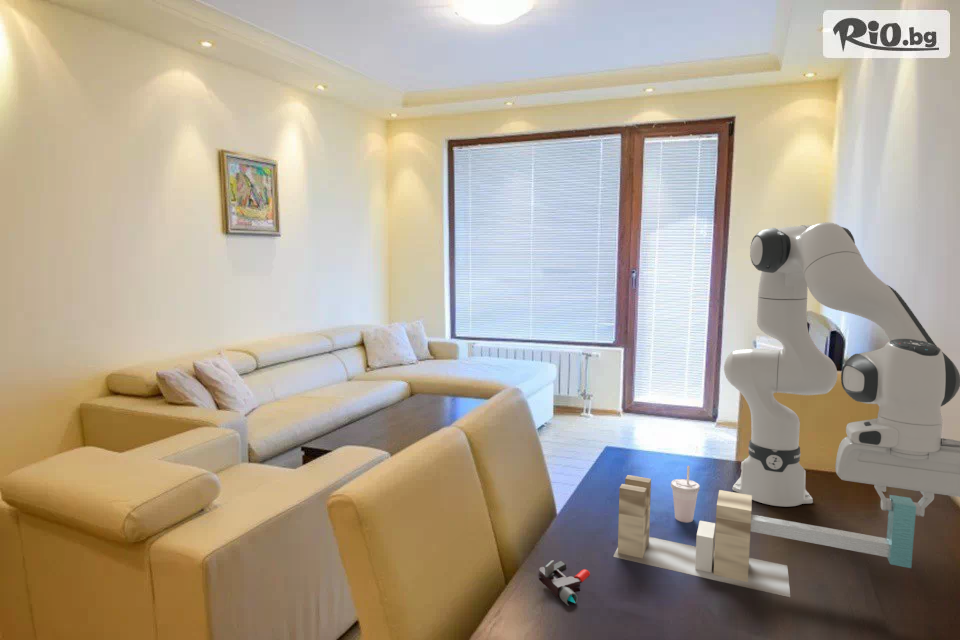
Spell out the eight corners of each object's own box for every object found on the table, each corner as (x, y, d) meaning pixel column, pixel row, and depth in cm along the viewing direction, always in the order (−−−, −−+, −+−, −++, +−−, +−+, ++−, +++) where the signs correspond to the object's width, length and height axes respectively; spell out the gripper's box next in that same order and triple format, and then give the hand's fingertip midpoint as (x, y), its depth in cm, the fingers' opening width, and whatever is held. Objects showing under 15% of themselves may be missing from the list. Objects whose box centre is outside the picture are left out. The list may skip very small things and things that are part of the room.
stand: (625, 536, 126) (627, 471, 125) (787, 571, 112) (791, 498, 111) (612, 562, 116) (614, 490, 114) (790, 603, 102) (794, 522, 100)
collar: (698, 552, 117) (699, 520, 117) (713, 555, 116) (715, 523, 115) (695, 568, 111) (696, 535, 110) (711, 572, 110) (713, 538, 109)
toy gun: (567, 612, 100) (567, 586, 99) (532, 578, 110) (532, 554, 110) (611, 598, 104) (611, 573, 103) (573, 567, 115) (573, 544, 114)
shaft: (738, 526, 112) (741, 472, 111) (905, 557, 100) (910, 497, 99) (738, 534, 108) (740, 479, 107) (911, 568, 96) (916, 506, 95)
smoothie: (700, 530, 129) (702, 471, 128) (671, 528, 131) (673, 469, 129) (695, 518, 136) (697, 462, 134) (667, 516, 137) (669, 460, 136)
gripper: (979, 437, 95) (972, 516, 96) (836, 422, 104) (832, 494, 105) (993, 448, 89) (985, 532, 91) (841, 431, 98) (836, 507, 100)
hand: (901, 512), depth 98 cm, fingers closed on shaft, 3 cm apart
